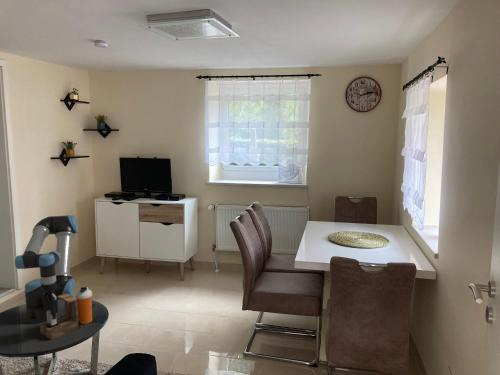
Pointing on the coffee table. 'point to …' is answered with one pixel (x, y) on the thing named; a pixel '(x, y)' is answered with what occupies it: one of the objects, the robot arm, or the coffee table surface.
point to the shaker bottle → (84, 305)
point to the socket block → (63, 319)
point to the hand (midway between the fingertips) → (52, 323)
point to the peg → (49, 319)
